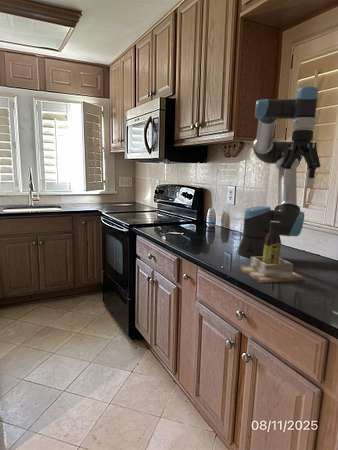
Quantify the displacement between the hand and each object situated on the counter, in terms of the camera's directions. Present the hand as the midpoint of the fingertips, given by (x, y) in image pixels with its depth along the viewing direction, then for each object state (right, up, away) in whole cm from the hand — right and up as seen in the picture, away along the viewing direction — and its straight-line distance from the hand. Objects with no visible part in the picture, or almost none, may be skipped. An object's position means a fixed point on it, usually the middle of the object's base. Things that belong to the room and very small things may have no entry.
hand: (296, 185), depth 125 cm
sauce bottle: (-11, -34, -1) cm, 36 cm away
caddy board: (-11, -35, -1) cm, 37 cm away
